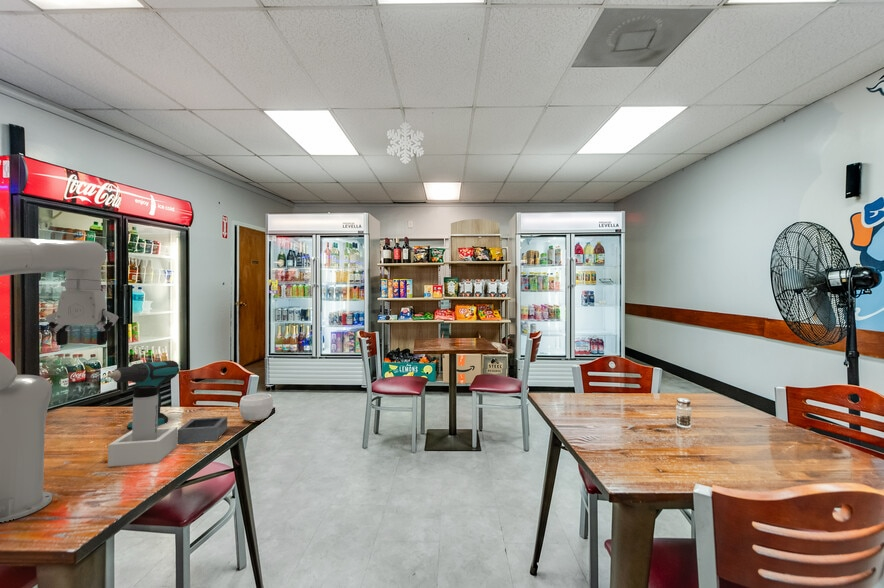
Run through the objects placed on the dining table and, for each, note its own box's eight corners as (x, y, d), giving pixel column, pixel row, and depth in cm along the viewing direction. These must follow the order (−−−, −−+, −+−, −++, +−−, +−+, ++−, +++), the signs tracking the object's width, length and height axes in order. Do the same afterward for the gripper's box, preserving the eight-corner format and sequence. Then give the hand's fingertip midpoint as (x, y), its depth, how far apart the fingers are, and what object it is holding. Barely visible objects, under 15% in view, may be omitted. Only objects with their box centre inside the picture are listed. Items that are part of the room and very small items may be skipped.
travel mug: (126, 449, 117) (128, 385, 117) (150, 442, 123) (152, 381, 123) (136, 453, 114) (138, 388, 114) (161, 446, 120) (162, 384, 120)
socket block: (216, 441, 131) (216, 427, 131) (177, 444, 128) (177, 429, 128) (227, 429, 142) (227, 416, 142) (191, 432, 139) (191, 418, 139)
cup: (277, 415, 160) (278, 393, 160) (263, 425, 148) (263, 401, 148) (249, 415, 160) (249, 392, 160) (232, 424, 148) (233, 400, 148)
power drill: (116, 440, 130) (118, 369, 131) (96, 438, 132) (97, 367, 132) (182, 417, 156) (183, 357, 156) (164, 416, 158) (166, 356, 158)
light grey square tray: (158, 462, 114) (158, 441, 114) (107, 466, 111) (108, 444, 111) (177, 446, 126) (177, 426, 127) (131, 449, 123) (132, 429, 123)
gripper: (37, 285, 104) (35, 346, 104) (110, 286, 108) (109, 345, 108) (57, 286, 112) (55, 343, 111) (125, 287, 116) (124, 342, 115)
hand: (82, 344), depth 110 cm, fingers open, 9 cm apart
